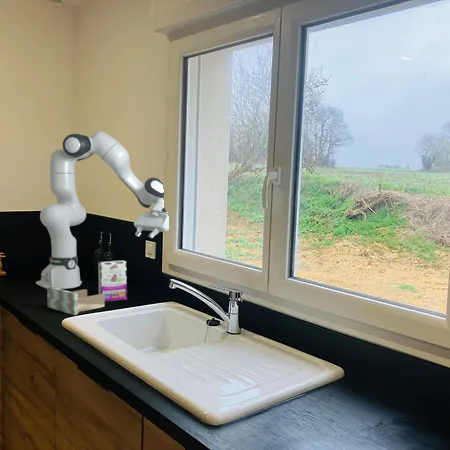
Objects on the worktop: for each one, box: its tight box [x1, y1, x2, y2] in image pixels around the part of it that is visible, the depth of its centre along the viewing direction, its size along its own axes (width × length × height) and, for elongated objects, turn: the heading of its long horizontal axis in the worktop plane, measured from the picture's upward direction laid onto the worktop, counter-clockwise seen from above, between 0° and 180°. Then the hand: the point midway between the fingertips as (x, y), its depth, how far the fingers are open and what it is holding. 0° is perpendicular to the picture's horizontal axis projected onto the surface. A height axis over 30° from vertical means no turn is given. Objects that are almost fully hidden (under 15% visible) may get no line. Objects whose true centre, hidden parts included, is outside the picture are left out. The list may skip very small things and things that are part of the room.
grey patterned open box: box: [46, 286, 106, 316], centre depth 202 cm, size 18×16×8 cm
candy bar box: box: [97, 260, 128, 303], centre depth 215 cm, size 11×5×16 cm, turn 117°
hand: (143, 236), depth 226 cm, fingers open, 7 cm apart
